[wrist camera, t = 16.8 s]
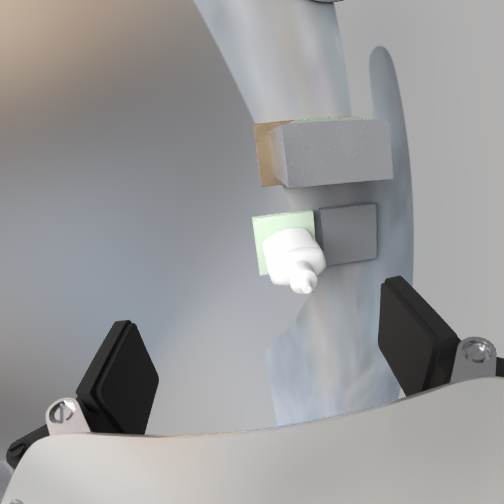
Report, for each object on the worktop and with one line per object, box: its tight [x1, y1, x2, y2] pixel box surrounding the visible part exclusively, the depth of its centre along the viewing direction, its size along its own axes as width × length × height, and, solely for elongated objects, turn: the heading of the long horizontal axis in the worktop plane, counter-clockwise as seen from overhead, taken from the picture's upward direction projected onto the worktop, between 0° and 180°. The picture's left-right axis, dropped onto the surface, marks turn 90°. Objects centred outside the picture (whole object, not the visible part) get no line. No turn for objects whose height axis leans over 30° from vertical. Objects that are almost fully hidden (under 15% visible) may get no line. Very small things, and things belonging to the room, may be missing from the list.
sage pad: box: [252, 209, 315, 275], centre depth 36 cm, size 7×7×1 cm
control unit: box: [253, 117, 393, 189], centre depth 28 cm, size 7×12×12 cm, turn 98°
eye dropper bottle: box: [262, 227, 326, 294], centre depth 30 cm, size 4×6×12 cm
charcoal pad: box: [319, 202, 377, 266], centre depth 36 cm, size 7×7×1 cm
